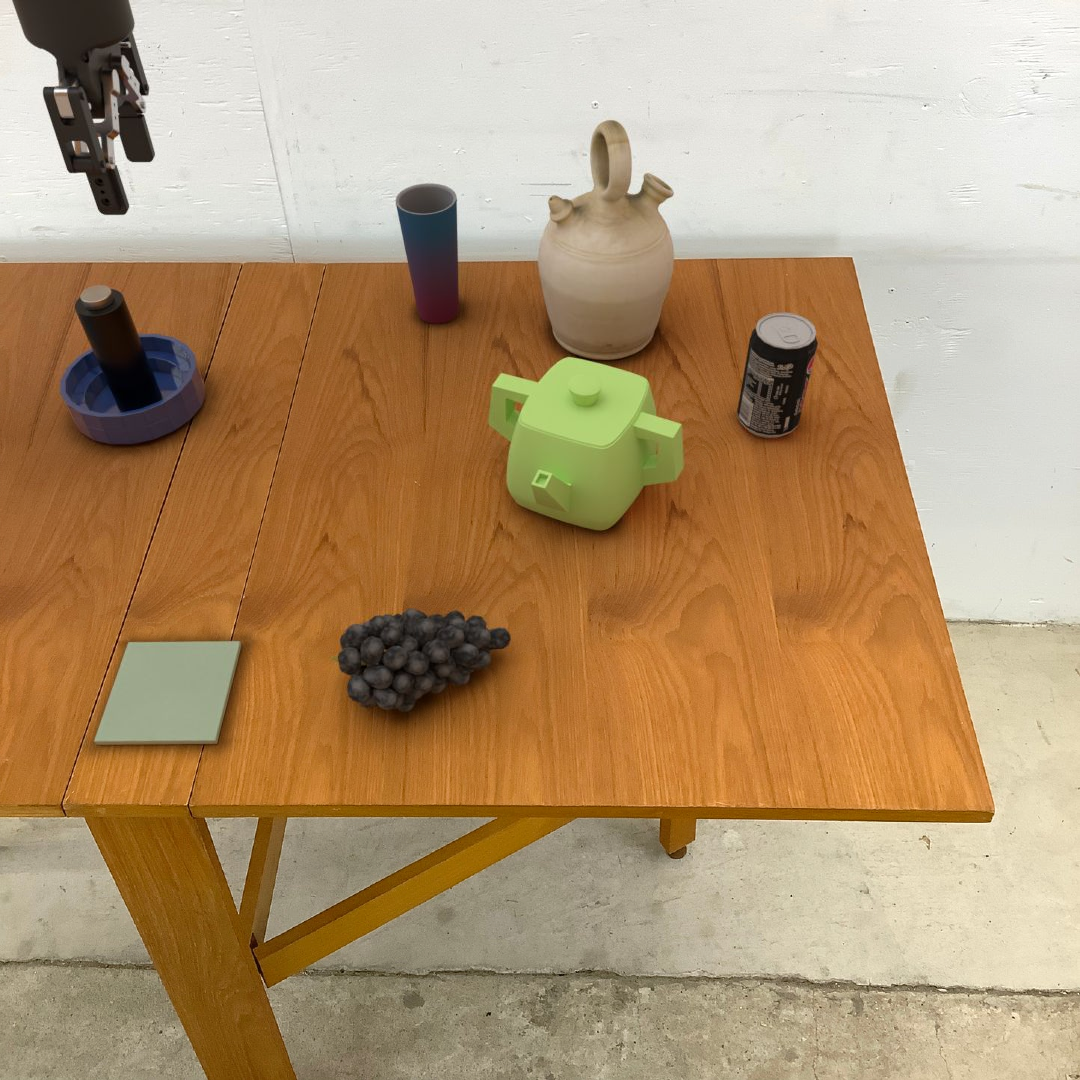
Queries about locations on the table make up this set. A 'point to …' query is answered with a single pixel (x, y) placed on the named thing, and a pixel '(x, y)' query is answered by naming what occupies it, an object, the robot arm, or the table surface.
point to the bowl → (110, 425)
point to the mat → (170, 693)
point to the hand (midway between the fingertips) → (129, 185)
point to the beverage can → (776, 374)
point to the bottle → (117, 347)
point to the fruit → (414, 655)
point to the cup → (431, 248)
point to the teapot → (583, 441)
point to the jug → (607, 256)
